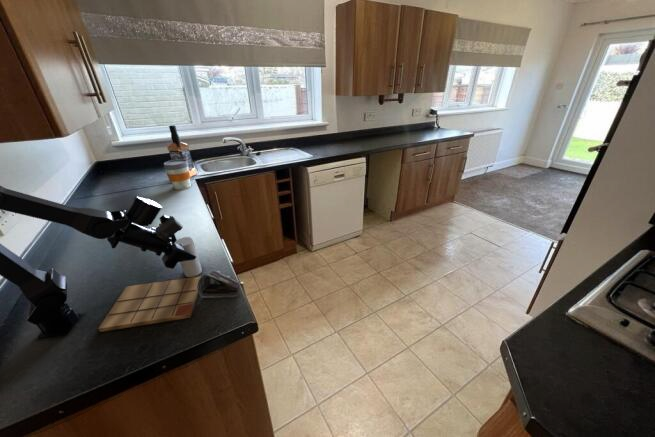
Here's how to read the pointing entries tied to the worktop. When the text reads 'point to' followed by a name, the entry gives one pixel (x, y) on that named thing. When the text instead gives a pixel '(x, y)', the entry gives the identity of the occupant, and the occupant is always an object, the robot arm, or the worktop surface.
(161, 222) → the robot arm
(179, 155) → the whiskey bottle
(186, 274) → the white plastic cylinder
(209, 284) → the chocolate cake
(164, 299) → the board
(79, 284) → the worktop surface
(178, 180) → the reusable coffee cup
